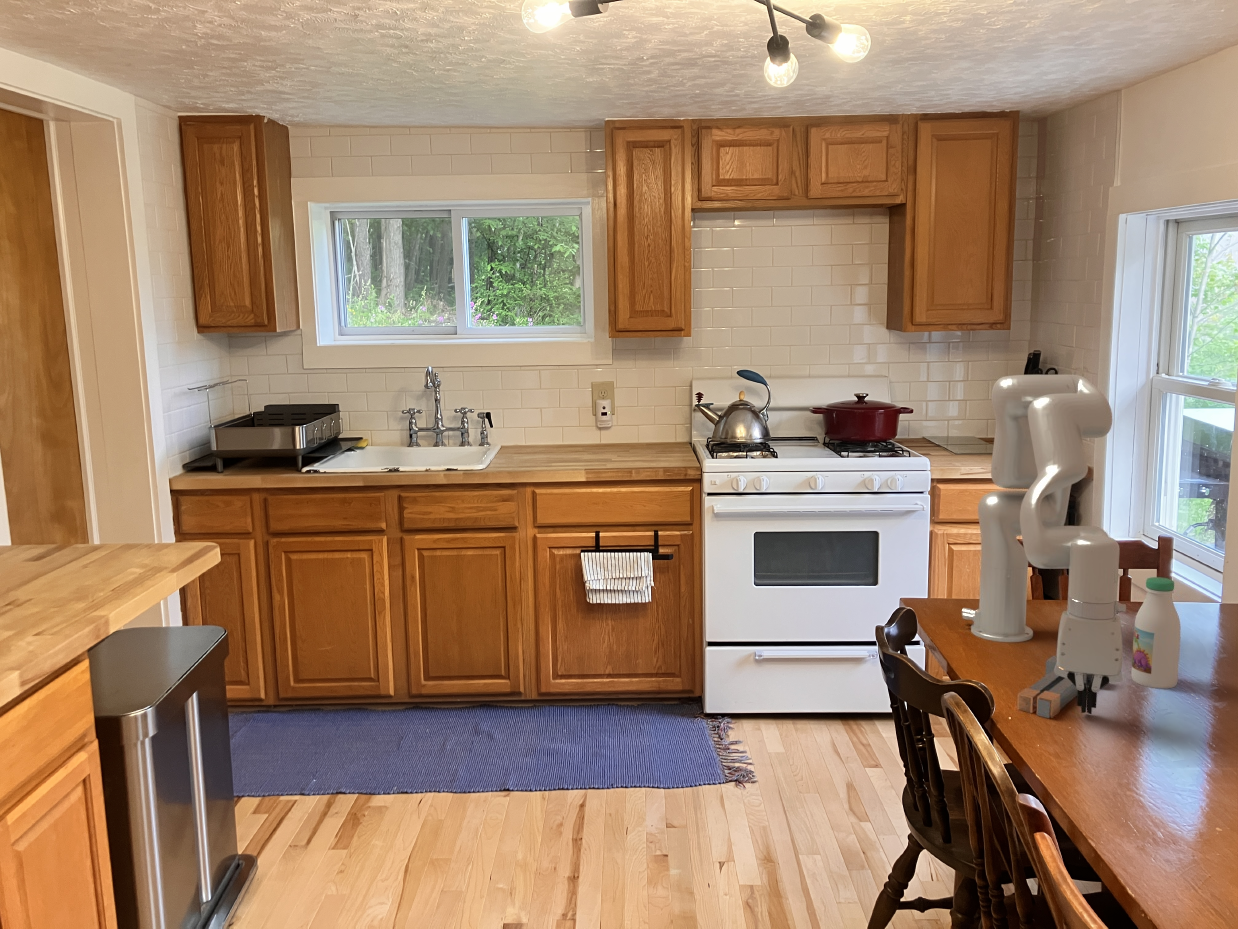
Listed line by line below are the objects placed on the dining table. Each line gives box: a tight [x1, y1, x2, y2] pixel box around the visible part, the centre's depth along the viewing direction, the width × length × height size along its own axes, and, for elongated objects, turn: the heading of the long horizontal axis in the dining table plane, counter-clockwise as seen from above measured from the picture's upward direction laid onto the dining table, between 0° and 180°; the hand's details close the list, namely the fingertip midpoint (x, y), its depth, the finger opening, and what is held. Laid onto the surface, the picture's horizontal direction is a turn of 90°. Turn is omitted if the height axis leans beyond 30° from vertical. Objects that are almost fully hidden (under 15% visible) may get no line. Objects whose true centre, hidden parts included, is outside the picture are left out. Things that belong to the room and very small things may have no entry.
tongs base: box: [1016, 654, 1104, 714], centre depth 183 cm, size 10×23×4 cm, turn 137°
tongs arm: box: [1036, 674, 1088, 719], centre depth 180 cm, size 19×3×3 cm, turn 137°
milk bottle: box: [1131, 576, 1181, 690], centre depth 188 cm, size 8×8×20 cm
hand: (1086, 710), depth 173 cm, fingers closed
